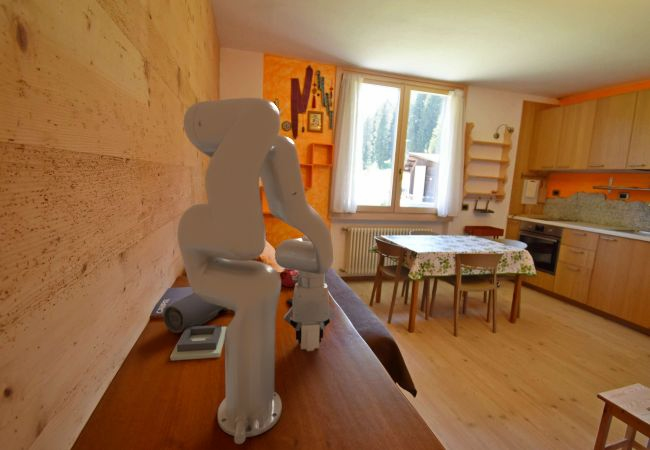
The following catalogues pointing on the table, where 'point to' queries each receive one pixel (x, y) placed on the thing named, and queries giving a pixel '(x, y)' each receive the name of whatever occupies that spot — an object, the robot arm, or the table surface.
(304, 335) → the keyed plug
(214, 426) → the table surface
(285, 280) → the pomegranate
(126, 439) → the table surface
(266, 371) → the robot arm
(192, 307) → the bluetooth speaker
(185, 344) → the socket board
